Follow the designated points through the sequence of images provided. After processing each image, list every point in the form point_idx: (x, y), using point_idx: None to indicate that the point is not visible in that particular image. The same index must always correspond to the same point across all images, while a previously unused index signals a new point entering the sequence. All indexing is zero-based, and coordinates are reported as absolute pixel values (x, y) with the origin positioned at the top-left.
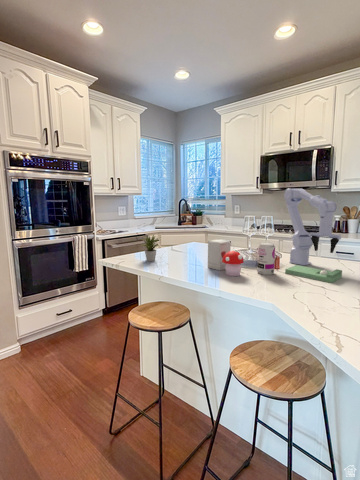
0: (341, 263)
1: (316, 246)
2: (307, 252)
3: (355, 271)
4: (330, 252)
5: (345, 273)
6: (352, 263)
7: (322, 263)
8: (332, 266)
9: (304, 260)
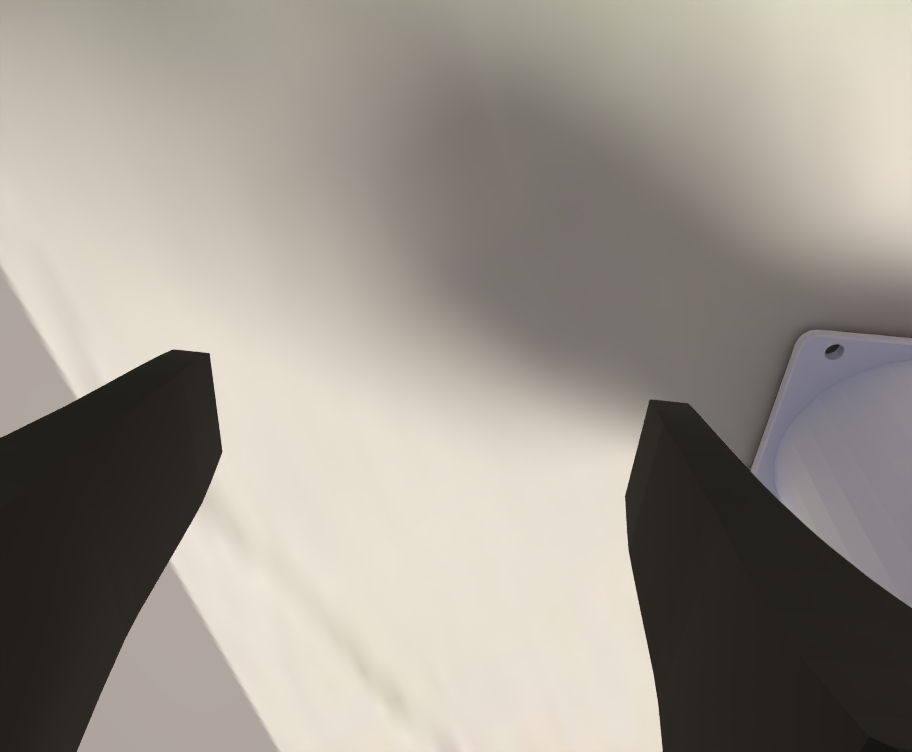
0: (393, 698)
1: (673, 523)
2: (880, 583)
3: None
4: (196, 353)
5: (127, 255)
6: (303, 744)
7: (586, 600)
8: (425, 525)
9: (861, 424)
